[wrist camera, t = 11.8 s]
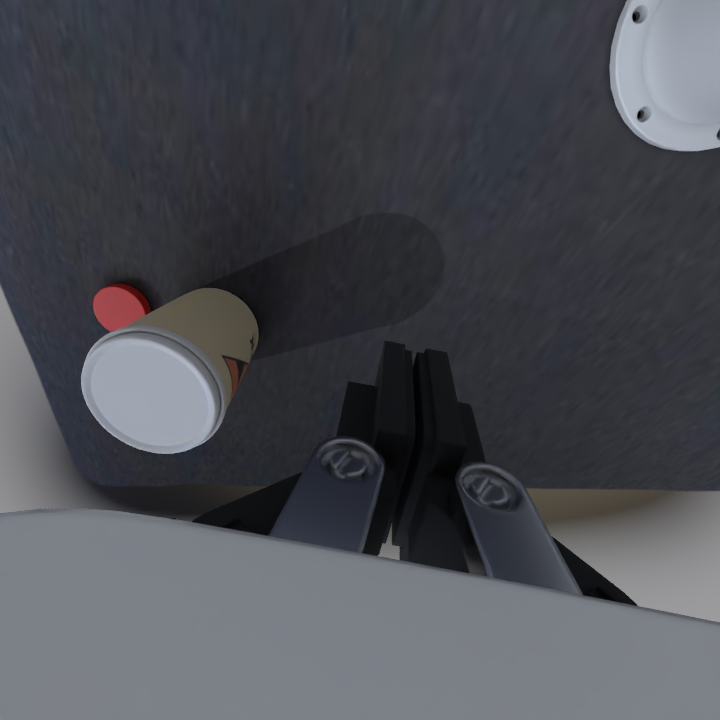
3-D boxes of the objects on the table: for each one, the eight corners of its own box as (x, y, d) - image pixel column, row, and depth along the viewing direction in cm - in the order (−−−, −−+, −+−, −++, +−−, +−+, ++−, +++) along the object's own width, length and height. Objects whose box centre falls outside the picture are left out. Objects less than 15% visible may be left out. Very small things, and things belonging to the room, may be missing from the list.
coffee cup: (236, 392, 41) (182, 479, 30) (148, 336, 39) (56, 409, 28) (288, 320, 37) (246, 390, 27) (193, 255, 35) (106, 302, 25)
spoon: (89, 292, 37) (80, 296, 36) (133, 276, 36) (125, 280, 35) (178, 434, 44) (173, 442, 43) (218, 424, 43) (213, 431, 42)
